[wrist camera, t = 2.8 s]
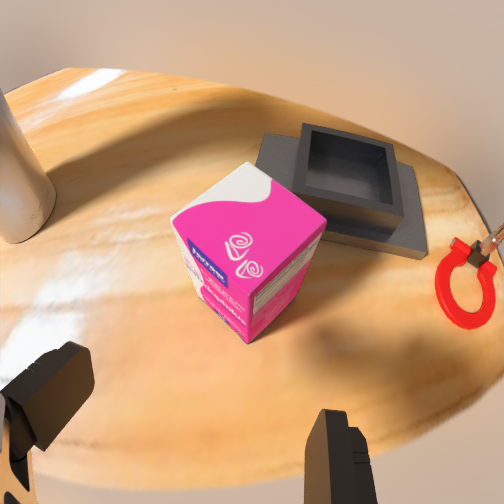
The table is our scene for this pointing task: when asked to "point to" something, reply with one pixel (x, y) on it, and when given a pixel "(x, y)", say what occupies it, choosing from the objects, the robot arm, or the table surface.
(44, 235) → the table surface
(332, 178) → the socket plate
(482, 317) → the tow hook
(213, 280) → the supplement box
